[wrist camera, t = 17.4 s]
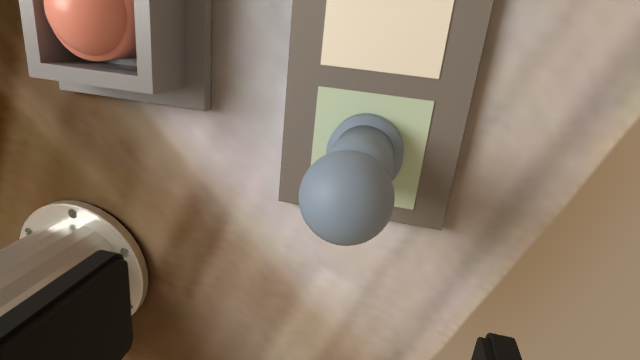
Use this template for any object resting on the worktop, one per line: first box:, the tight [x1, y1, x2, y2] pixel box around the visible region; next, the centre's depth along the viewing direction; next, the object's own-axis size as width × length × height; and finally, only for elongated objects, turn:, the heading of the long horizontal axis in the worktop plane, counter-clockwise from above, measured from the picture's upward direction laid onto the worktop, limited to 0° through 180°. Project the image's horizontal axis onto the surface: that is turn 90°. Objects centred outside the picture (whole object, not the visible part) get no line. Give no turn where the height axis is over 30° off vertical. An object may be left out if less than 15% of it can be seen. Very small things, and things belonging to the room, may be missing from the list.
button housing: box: [19, 0, 212, 111], centre depth 27 cm, size 12×12×5 cm
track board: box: [279, 0, 494, 230], centre depth 26 cm, size 28×12×1 cm, turn 174°
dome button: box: [44, 0, 137, 61], centre depth 26 cm, size 6×6×6 cm
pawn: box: [299, 113, 404, 246], centre depth 23 cm, size 5×5×11 cm
